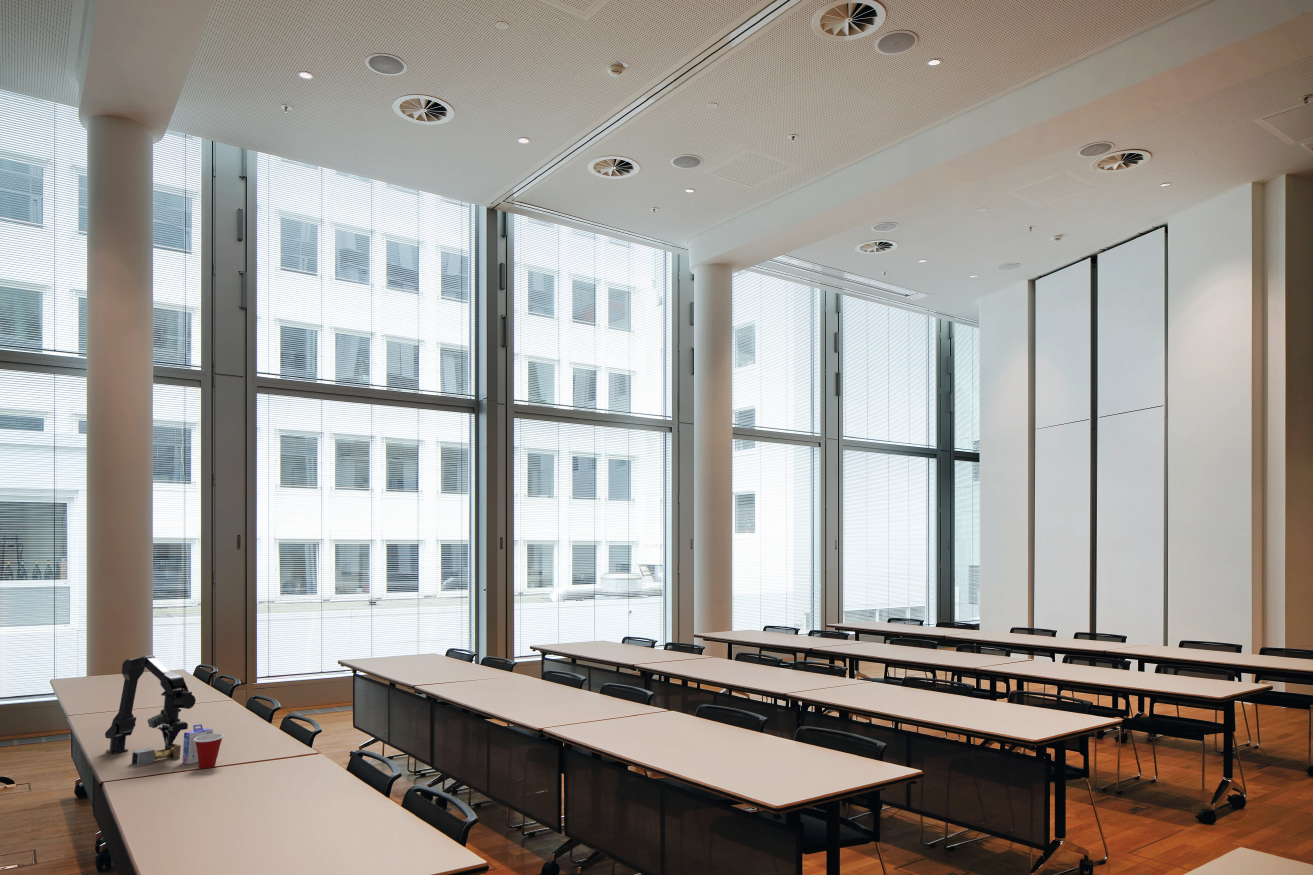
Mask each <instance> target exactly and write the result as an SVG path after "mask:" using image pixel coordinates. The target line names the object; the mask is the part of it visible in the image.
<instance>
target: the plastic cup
mask: <svg viewBox="0 0 1313 875" xmlns="http://www.w3.org/2000/svg"><path fill="white" fill-rule="evenodd" d="M223 738H224V733H223V734H222V733H217V732H216V733H213V734H206V735H202V736H198V737H196V738H194V741H195V743H196V747H197V755H198V762H197V763H198V768H199V769H211V768H214V767H215V766H216V763H217V759H218V757H219V756H218V755H219V753H220V746H221V744H222V741H223Z"/></svg>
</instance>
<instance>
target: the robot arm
mask: <svg viewBox="0 0 1313 875" xmlns="http://www.w3.org/2000/svg"><path fill="white" fill-rule="evenodd" d="M145 668H146V669H147V670H148V671H149V672H150V673H151V674H152V675H154V677H156V678H157V679H158V680H159V682H160V683H159V684H160V686H161V687H162V689H163V692H162V693H161V694H160V696H163V697H164V699H163V700H164V702H163V709H161V710H160V713H159V714H157V715H155V716H152V717H150V718H148V719H147V724H148V726H149V728H152V729H156V728H157V730H159V731H160V732H161V733H162V737H163V741H164V743H165V739H166V736H168V746H171V745H172V744H173V743H175V740H176V738H177V737H178V735H179V733H180V731H184V730H188V729H189V724H188V722H186V721H183V720H182V721H181V718H179V714H180V712H181V711H182V709H184V710H186V709H187V710H189V709H192V708H194V706H195V704H196V701H197V699H196V697H195V695H193V692H192V691H190V690H189V688H188V686H187V684H186V681H185V679H184V676H182V675H181V674H179V673H176V672H173V671H170V670H169V668H167V667H166V666H165V665H164V664H163V663H161V662H160V661H159V660H158V659H157V658H156V656H155V655H151V654H149V655H143V656H141V657H137V658H135V657H134V658H129V659H125V660H124V661H123V662H122V666H121V675H122V677H123V678H124V681H123V686H122V693H121V698H120V701H119V702H120V703H119V708H118V713H117V714H116V715H115V716H114V718H112V721H111V726H110V727H109V728H108V729H107V730H106V731H105V732H104V736H105V739H109V740H110V741H109V749H106V750H105V752H107V753H108V754H109V753H110V754H117V753H118V754H119V753H123V752H128V751H129V749H127V748H126V743H127V742H126V741H127V736H132V734H133V732H134V728H135V727H136V721H137V717H136V716H134V714H133V708H134V703H135V697H136V692H137V688H138V687H137V686H138V680H139V679H140V678H141V676H142V675H143V674H144V672H145Z"/></svg>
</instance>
